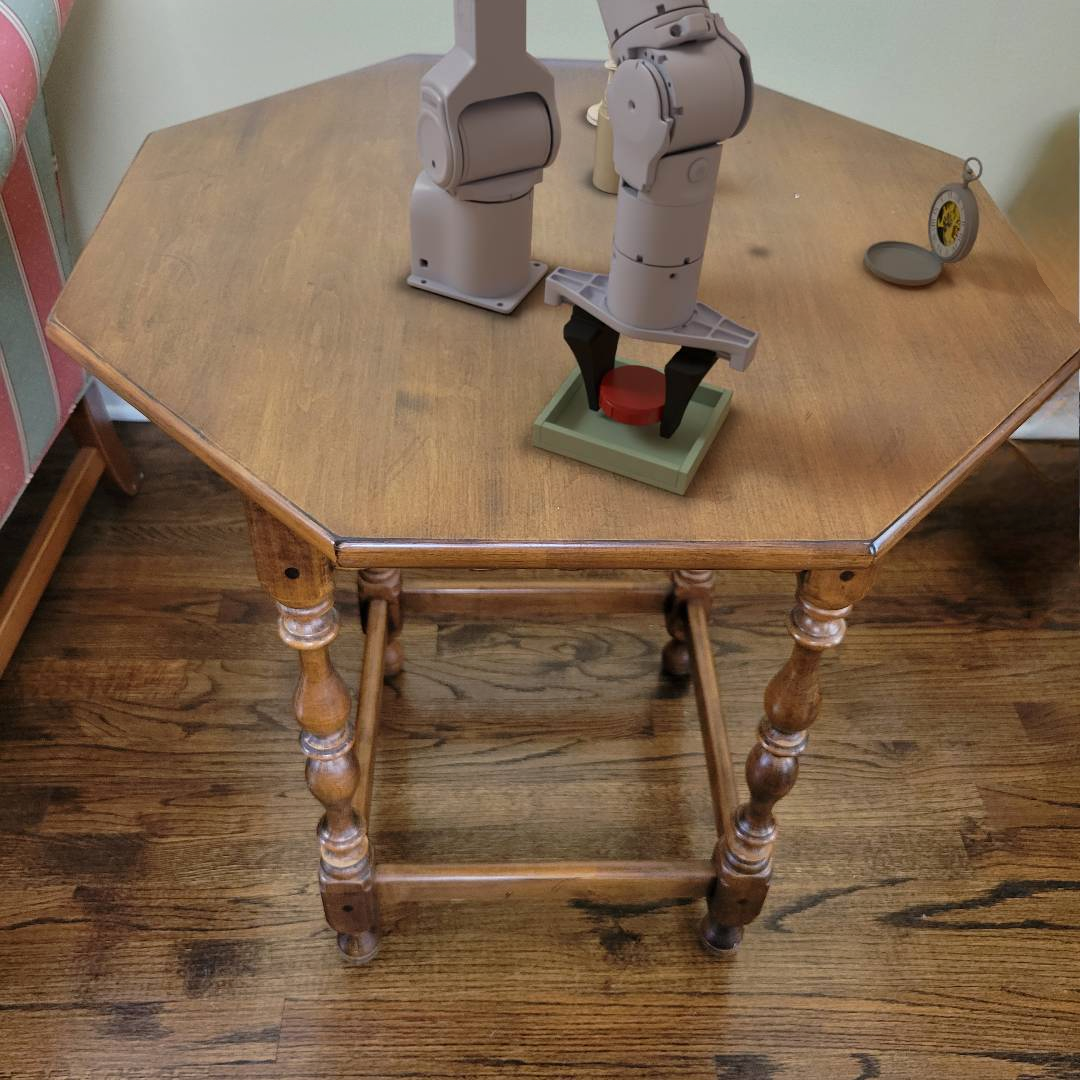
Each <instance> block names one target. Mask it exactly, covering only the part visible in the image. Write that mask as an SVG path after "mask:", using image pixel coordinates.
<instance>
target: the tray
mask: <svg viewBox="0 0 1080 1080" xmlns="http://www.w3.org/2000/svg"><path fill="white" fill-rule="evenodd" d="M625 365H641V366H646V367H650V368H653V369H656V370H658V371H660V372H662V373H663V374H665V373H664V369H662V368H660V367H656V366H653V365H650V364H647V363H643V362H639V361H637V360H633V359H630V358H627V357H623V356H620V355H616V357H615V367H614V368H617V367H620V366H625ZM733 395H734V390H731V389H728V388H725V387H722V386H718V385H715V384H712V383H709V382H705V381H703V380H702V381H701V383H700V384H699V386H698V387H697V389H696V391H695V392H694V394H693V396H692V398H691V400H690V402H689V404H688V406H687V408H686V410H685V413H684V415H683V418H682V421H681V424H680V426H679V427H678V428H677V430H676V431H675V432H674V434H673V435H672V436H671V438H670V439H666V438H663V437H661V436H660V424H661V422H659V423H656V424H653V425H648V426H633V425H627V424H623V423H620V422H618V421H616V420H613V419H612V418H610V417H609V416H608V415H606V414H605V413H604V412H603V410H602V409H601V408H600V410H599V411H598V412H595V411H593V410H590V409H589V404H588V398H587V393H586V388H585V384H584V380H583V377H582V373H581V370H580V367H579V365H578V364H577V365H576V366H575V368H574V369H573V370H572V372H571V373H570V374H569V376H568V377H567V379H566V380H565V381H564V382H563V384H562V385H561V386H560V388H559V389H558V390H557V391H556V393H555V394H554V395H553V397H552V398H551V399H550V400H549V402H548V404H547V405H546V406H545V408H544V409H543V410H542V412H541V413H540V414H539V415H538V416H537V418H536V419H535V421H533V428H532V446H534V447H536V448H538V449H539V448H540V449H543V450H545V451H549V452H551V453H554V454H556V455H557V454H558V455H560V456H563V457H567V458H569V459H573V460H575V461H579V462H581V463H583V464H587V465H591V466H592V467H596V468H600V469H601V470H606V471H608V472H611V473H614V474H618V475H619V476H624V477H626V478H629V479H633V480H635V481H638V482H641V483H645V484H647V485H650V486H653V487H656V488H658V489H662V490H665V491H668V492H671V493H674V494H676V495H680V496H684V495H685V493H686V491H687V489H688V488H689V486H690V484H691V482H692V481H693V479H694V477H695V475H696V473H697V471H698V469H699V467H700V465H701V464H702V463H703V460H704V458H705V457H706V455H707V453H708V451H709V450H710V448H711V446H712V444H713V442H714V440H715V438H716V437H717V435H718V433H719V431H720V429H721V428H722V425H723V424H724V422H725V420H726V418H727V417H728V415H729V413H730V408H731V404H732V399H733Z"/></svg>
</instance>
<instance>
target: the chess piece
mask: <svg viewBox="0 0 1080 1080" xmlns="http://www.w3.org/2000/svg"><path fill="white" fill-rule="evenodd" d="M606 42H607V43H606V44H607V47H608V53H609V54H608V55H609V57H610V58H609V59H608V60H606V61H605V63H604V67H605V68H606V69H607V70H609V72H608V76H607V77H608V79H607V83H606V85H607V84H610V85H611V83H612V79H613V76H614V73H615V71H616V69H617V67H616V63H615V60H614V56H613V53H612V50H611V46H610V43H609V40H608V39H607V40H606ZM606 90H607V86H606V88H605V92H604V95H605V94H606ZM603 100H604V99H602V100H600V102H599V103H595V104H593V105H591V106H589V108H588V110H587V114H586V120H587V121H588V122H589V123H590V124H591V125H593V126H595V127H597V120H598V110H599V107H600V106H601V105H602V102H603Z"/></svg>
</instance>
